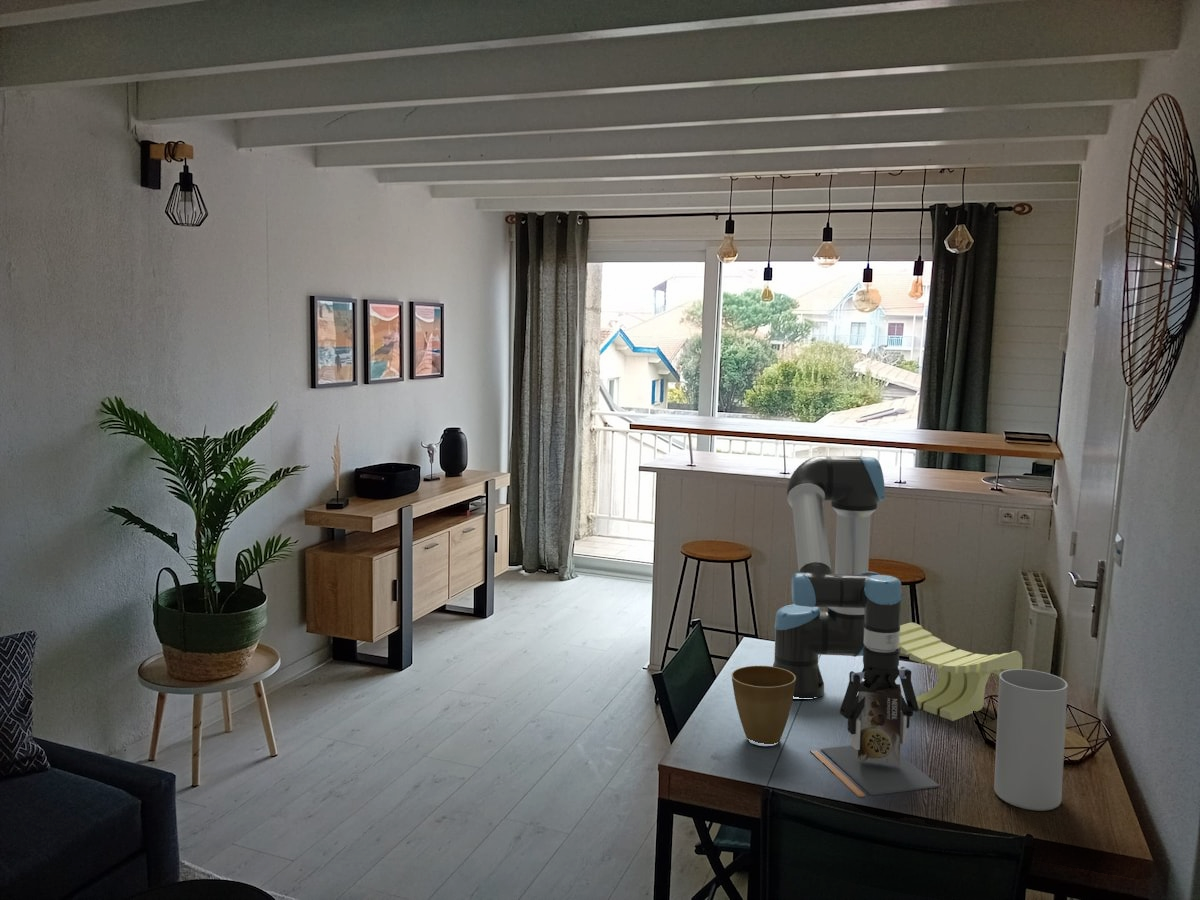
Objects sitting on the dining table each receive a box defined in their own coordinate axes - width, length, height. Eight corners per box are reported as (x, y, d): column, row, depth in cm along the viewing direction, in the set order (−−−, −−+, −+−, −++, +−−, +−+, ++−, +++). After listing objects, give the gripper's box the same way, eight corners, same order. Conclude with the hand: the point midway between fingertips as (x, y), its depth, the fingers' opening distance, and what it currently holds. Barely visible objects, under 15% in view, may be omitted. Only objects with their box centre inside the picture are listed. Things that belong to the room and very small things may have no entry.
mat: (820, 750, 205) (820, 748, 205) (883, 743, 208) (883, 741, 208) (870, 795, 184) (870, 793, 183) (939, 787, 187) (939, 785, 187)
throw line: (809, 751, 204) (809, 750, 204) (815, 750, 205) (815, 749, 204) (858, 797, 183) (858, 795, 183) (865, 796, 183) (865, 794, 183)
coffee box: (899, 753, 198) (901, 683, 196) (900, 766, 191) (902, 694, 190) (856, 748, 200) (858, 679, 199) (856, 761, 194) (858, 689, 192)
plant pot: (794, 730, 216) (795, 666, 214) (794, 757, 201) (796, 689, 200) (732, 725, 219) (733, 662, 217) (728, 751, 204) (729, 684, 203)
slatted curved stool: (1019, 717, 224) (1023, 648, 222) (984, 732, 215) (987, 661, 213) (916, 682, 248) (918, 620, 247) (880, 694, 239) (882, 630, 237)
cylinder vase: (1006, 777, 192) (1012, 664, 189) (1069, 796, 183) (1075, 679, 181) (984, 797, 183) (989, 680, 180) (1049, 819, 174) (1056, 696, 172)
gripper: (841, 656, 187) (838, 757, 189) (938, 648, 192) (934, 746, 195) (824, 645, 194) (822, 742, 197) (918, 638, 200) (914, 732, 202)
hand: (878, 744), depth 196 cm, fingers closed on coffee box, 10 cm apart
